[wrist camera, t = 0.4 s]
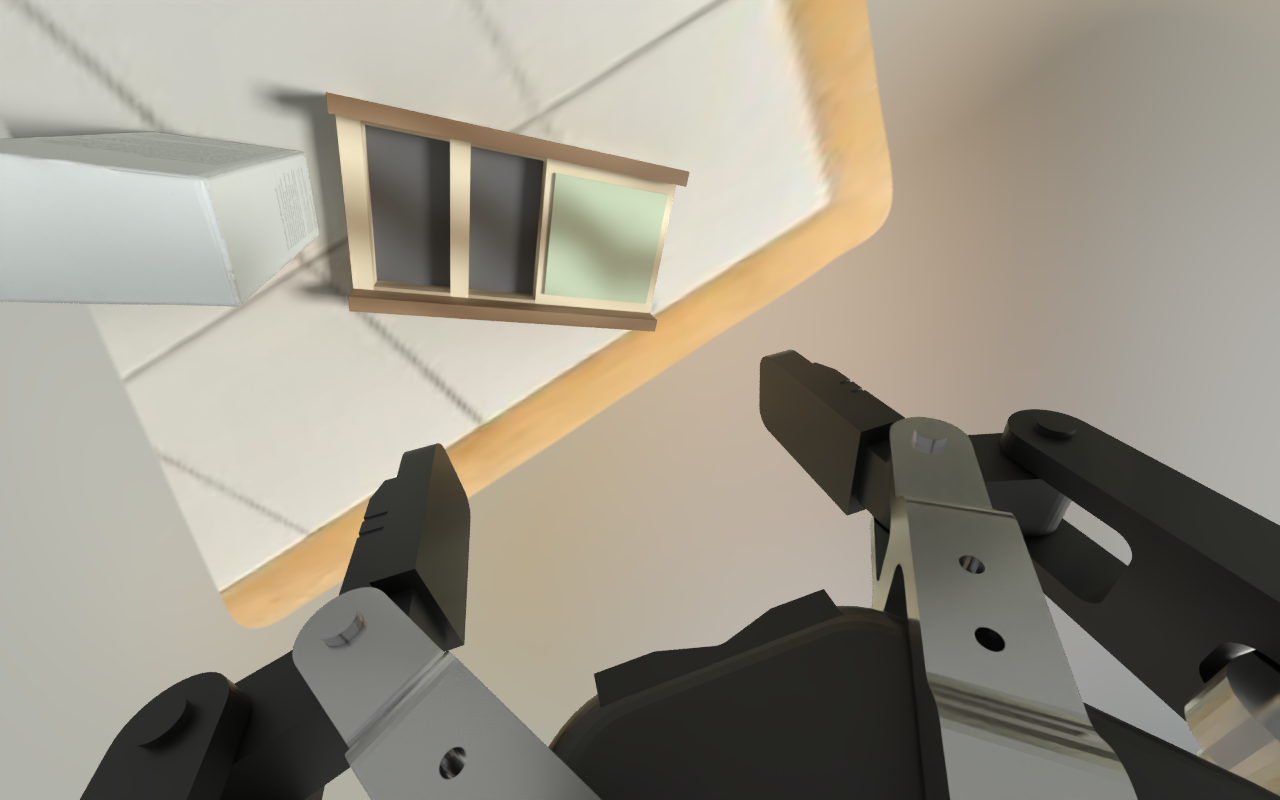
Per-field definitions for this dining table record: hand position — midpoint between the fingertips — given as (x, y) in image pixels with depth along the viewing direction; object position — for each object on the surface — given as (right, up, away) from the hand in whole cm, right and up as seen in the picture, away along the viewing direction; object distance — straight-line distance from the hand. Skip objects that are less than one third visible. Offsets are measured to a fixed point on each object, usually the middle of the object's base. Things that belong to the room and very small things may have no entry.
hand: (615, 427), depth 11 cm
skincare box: (-19, +11, +12) cm, 25 cm away
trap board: (-7, +11, +17) cm, 21 cm away
